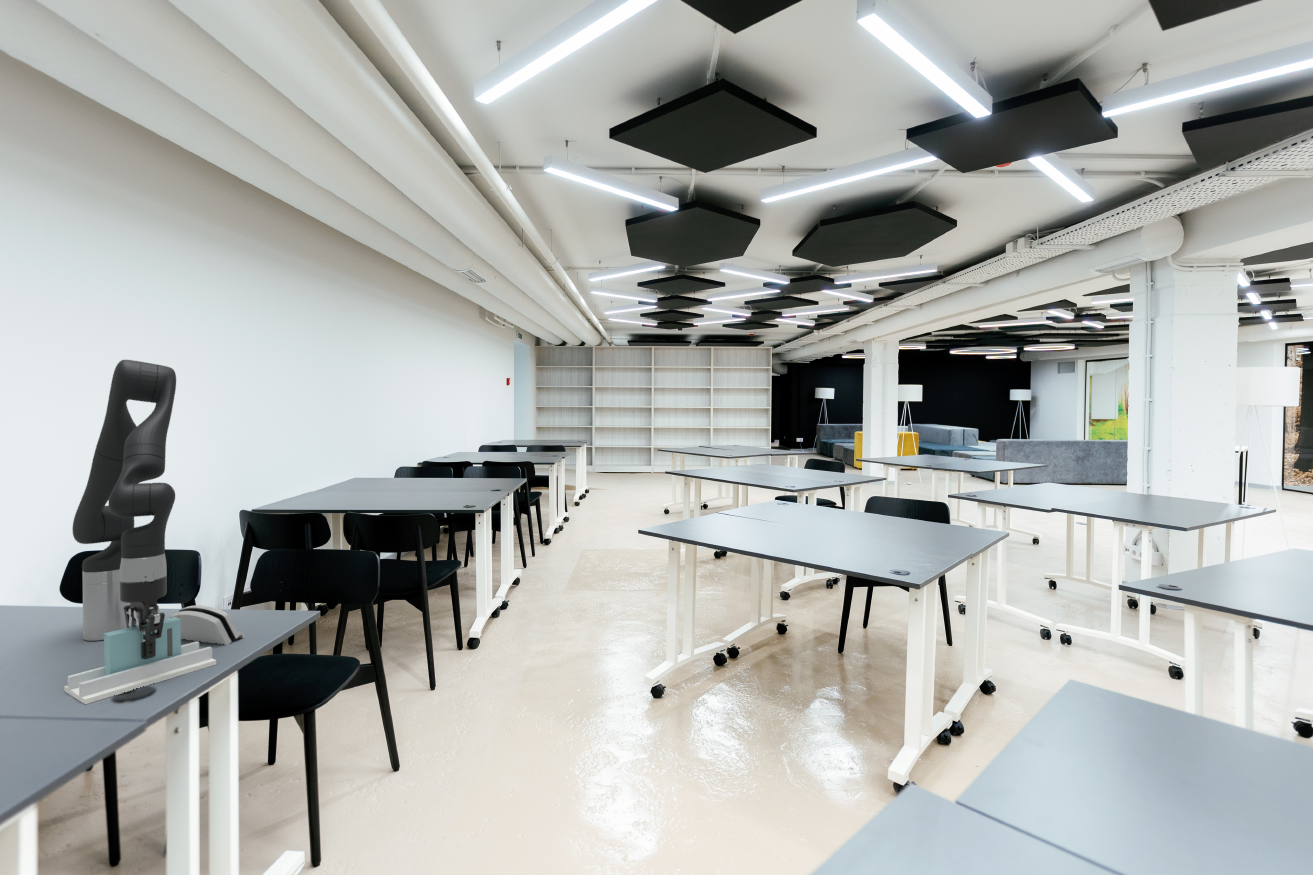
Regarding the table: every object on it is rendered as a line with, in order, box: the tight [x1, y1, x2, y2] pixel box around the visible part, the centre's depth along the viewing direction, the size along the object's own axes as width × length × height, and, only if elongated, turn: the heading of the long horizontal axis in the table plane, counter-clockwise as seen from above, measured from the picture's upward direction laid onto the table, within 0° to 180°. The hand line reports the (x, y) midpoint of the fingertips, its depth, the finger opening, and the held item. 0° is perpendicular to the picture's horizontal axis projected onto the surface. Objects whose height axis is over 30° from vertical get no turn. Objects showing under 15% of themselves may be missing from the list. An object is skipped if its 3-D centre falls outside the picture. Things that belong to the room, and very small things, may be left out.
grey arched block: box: [169, 604, 246, 646], centre depth 146 cm, size 17×5×10 cm, turn 76°
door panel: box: [103, 617, 182, 676], centre depth 125 cm, size 3×12×10 cm, turn 150°
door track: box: [63, 641, 217, 705], centre depth 125 cm, size 11×22×4 cm, turn 150°
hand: (144, 655), depth 125 cm, fingers open, 3 cm apart
